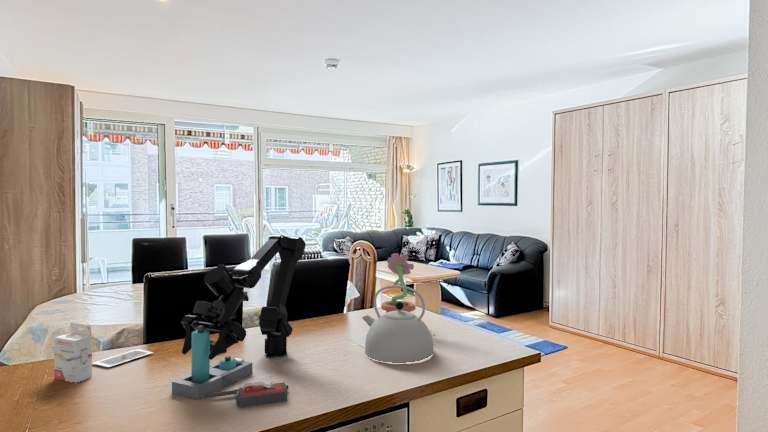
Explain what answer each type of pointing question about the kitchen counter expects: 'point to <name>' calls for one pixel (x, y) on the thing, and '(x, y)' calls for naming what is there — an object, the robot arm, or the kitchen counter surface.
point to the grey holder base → (213, 378)
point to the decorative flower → (400, 268)
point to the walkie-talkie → (256, 393)
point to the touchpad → (122, 358)
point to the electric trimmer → (213, 345)
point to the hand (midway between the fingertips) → (196, 356)
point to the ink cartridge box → (74, 354)
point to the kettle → (398, 334)
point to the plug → (200, 355)
